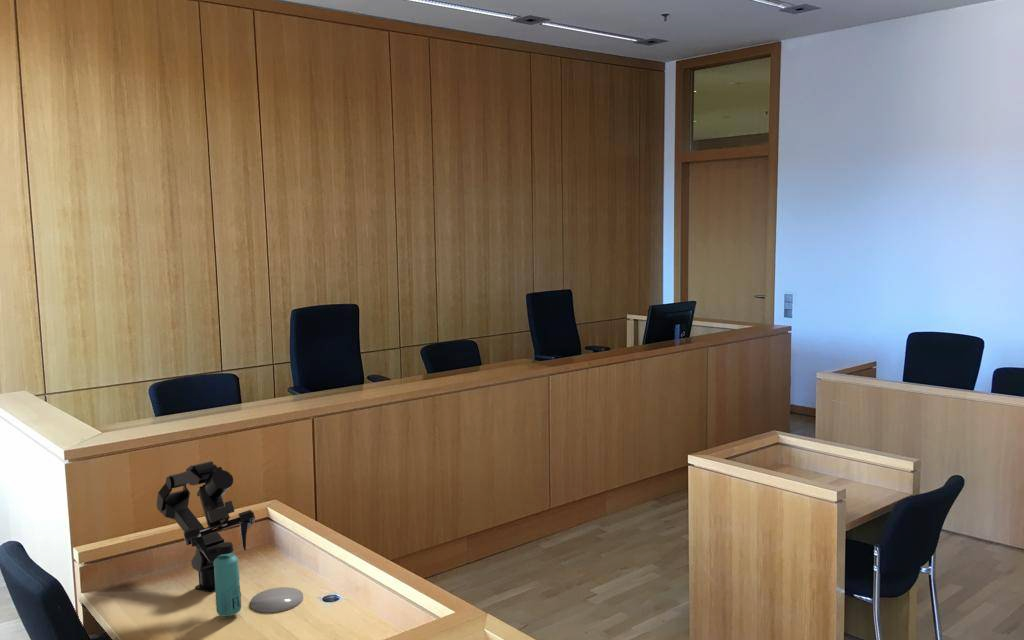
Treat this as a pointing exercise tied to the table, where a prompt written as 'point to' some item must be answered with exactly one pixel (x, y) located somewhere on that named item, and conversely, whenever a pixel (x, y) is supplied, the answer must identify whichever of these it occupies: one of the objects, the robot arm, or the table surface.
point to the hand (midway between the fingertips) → (228, 556)
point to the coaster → (276, 600)
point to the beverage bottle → (227, 581)
